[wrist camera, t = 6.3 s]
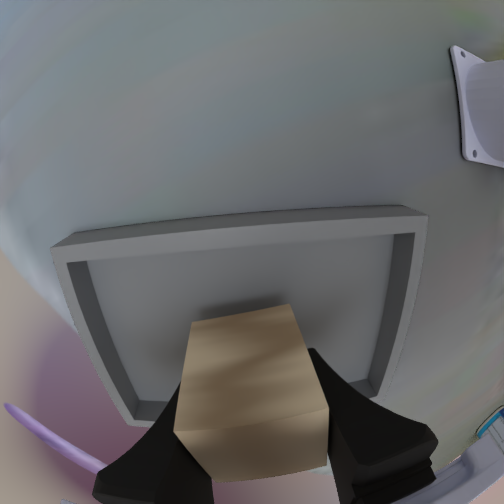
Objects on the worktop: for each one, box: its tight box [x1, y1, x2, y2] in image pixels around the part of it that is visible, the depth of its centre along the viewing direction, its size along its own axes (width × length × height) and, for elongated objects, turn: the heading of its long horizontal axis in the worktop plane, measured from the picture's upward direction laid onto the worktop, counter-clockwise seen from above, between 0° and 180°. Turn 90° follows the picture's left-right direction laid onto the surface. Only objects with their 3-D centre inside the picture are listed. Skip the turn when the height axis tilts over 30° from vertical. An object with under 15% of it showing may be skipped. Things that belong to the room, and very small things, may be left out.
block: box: [173, 304, 329, 483], centre depth 10 cm, size 4×4×6 cm
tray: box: [50, 205, 429, 427], centre depth 14 cm, size 18×13×2 cm
